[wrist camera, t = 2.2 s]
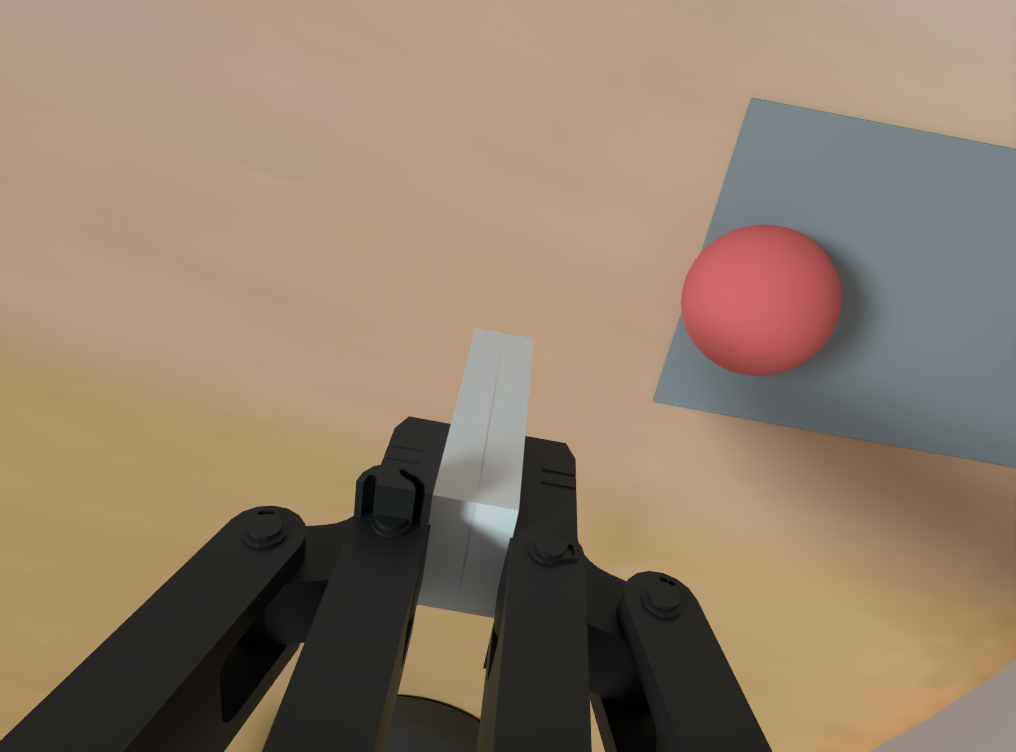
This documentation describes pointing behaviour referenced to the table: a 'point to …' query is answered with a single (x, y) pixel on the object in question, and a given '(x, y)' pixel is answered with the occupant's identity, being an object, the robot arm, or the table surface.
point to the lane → (879, 284)
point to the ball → (761, 300)
